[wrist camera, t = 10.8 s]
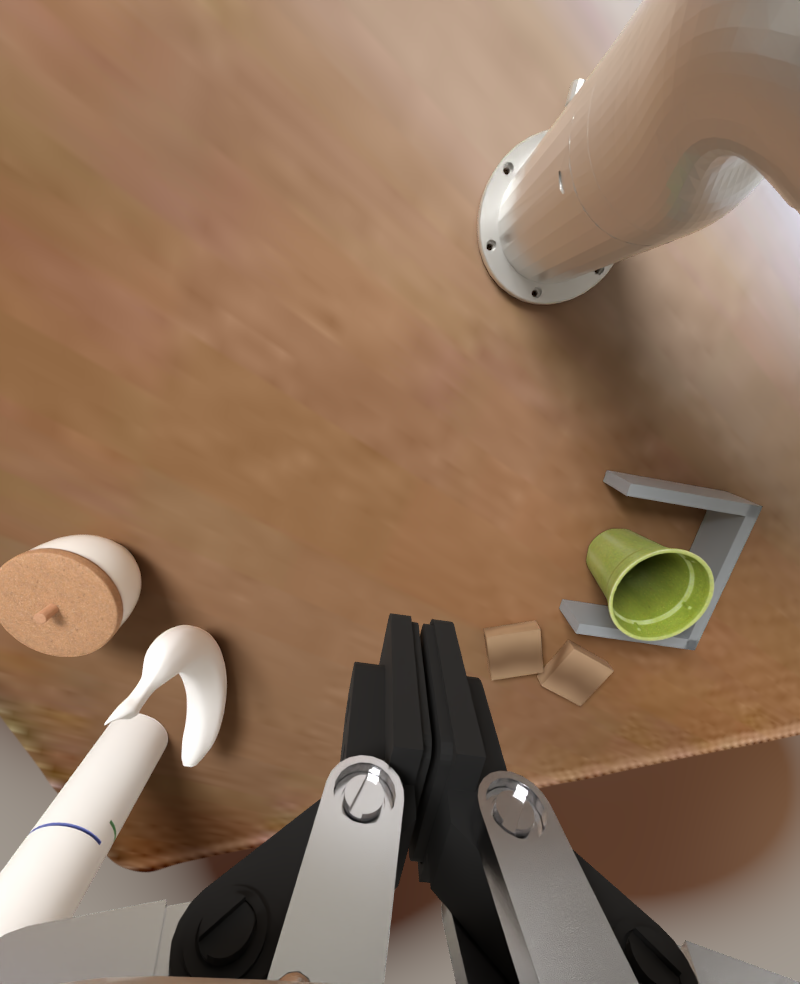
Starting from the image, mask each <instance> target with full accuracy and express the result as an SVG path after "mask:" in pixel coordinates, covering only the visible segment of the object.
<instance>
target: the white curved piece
mask: <svg viewBox="0 0 800 984" xmlns="http://www.w3.org/2000/svg"><path fill="white" fill-rule="evenodd" d="M178 673H179V674H180V676H181V678H182V680H183V683H184V686H185V690H186V695H187V716H186V724H185V729H184V734H183V741H182V762H183V766H188V767H193V766H195V765H197V764H198V763H199V762H200V761H201V759H202V758H203V757H204V756H205V755H206V754H207V752H208V751H209V750H210V748H211V747H212V745H213V744H214V742H215V740H216V738H217V735H218V733H219V730H220V727H221V723H222V719H223V715H224V709H225V703H226V693H227V676H226V668H225V663H224V659H223V656H222V653H221V650H220V648H219V646H218V644H217V642H216V641H215V640H214V638H213V637H212V636H211V635H210V633H208V632H206V631H205V630H203V629H201V628H199V627H195V626H191V625H180V626H176V627H173V628H170V629H168V630H166V631H165V632H163V633H162V634H161V635H159V636H158V637H157V638H156V639H155V640H154V641H153V643H152V644H151V645H150V647H149V648H148V650H147V652H146V655H145V658H144V664H143V672H142V678H141V680H140V682H139V683H138V685H137V686H136V688H135V689H134V690H133V692H132V693H131V694H130V695H129V697H128V698H126V699H125V700H124V701H123V702H122V703H121V704H120V705H119V706H118V707H117V708H116V710H115V711H114V712H113V713H112V714H111V716H110V717H109V718H108V720H107V721H106V722H105V725H106V724H108V723H110V722H113V721H116V720H119V719H122V720H123V719H132V718H133V717H135V716H137V715H138V713H139V711H140V710H141V708H142V706H143V705H144V703H145V702H146V701H147V699H148V698H149V697H150V695H151V694H152V693H153V692H154V691H155V690H156V689H157V688H158V687H160V686H161V685H163V684H164V683H166V682H167V681H168V680H170V679H171V678H173V677H174V676H175V675H177V674H178ZM105 725H104V726H105Z"/></svg>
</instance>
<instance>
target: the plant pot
mask: <svg viewBox="0 0 800 984" xmlns="http://www.w3.org/2000/svg"><path fill="white" fill-rule="evenodd" d="M586 563H587V566H588V568H589V570H590V571H591V573H592V575H593V576H594V578H595V580H596V581H597V583H598V585H599V586H600V588H601V590H602V592H603V593H604V595H605V597H606V598H607V602H608V609H609V614H610V617H611V619H612V621H613V622H614V624H615V625H616V627H617V628H618V629H619V630H620V631H621V632H623V633H624V634H626V635H628V636H629V637H632V638H634V639H638V640H644V641H656V640H663V639H667V638H670V637H673V636H675V635H677V634H680V633H681V632H683V631H684V630H686V629H688V628H689V627H690V626H692V625H693V624H694V623H695V622H697V621H698V619H700V617H701V616H702V615H703V613H704V612H705V611H706V609H707V608H708V606H709V604H710V601H711V599H712V596H713V592H714V578H713V574H712V571H711V569H710V567H709V566H708V565H707V563H706V562H705V561H704V560H703V559H702V558H700V557H699V556H697V555H696V554H694V553H692V552H689V551H687V550H682V549H676V548H667V547H664V546H662V545H660V544H658V543H656V542H654V541H651V540H649V539H647V538H645V537H643V536H641V535H639V534H637V533H635V532H633V531H631V530H628V529H610V530H607V531H605V532H603V533H601V534H599V535H598V536H597V537H596V538H595V539H594V540H593V541H592V542H591V544H590V545H589V547H588V553H587V558H586Z"/></svg>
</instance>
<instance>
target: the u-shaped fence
mask: <svg viewBox="0 0 800 984" xmlns="http://www.w3.org/2000/svg"><path fill="white" fill-rule="evenodd" d="M603 482H605V483H607V484H608V485H610V486H611V487H613V488H615V489H616V490H618V491H620V492H621V493H623V494H625V495H626V496H631V497H637V498H643V499H649V500H655V501H660V502H666V503H672V504H678V505H684V506H689V507H695V508H701V509H707V512H706V514H705V516H704V519H703V521H702V523H701V526H700V528H699V530H698V533H697V535H696V537H695V540H694V542H693V544H692V546H691V549H690V551H689V552H692V553H694V554H696V555H697V556H699V557H700V558H702V559H703V560H704V561H705V562H706V563H707V565H708V566H709V567H710V569H711V571H712V574H713V578H714V592H713V596H712V599H711V601H710V604H709V606H708V608H707V609H706V611H705V612H704V613H703V615H702V616H701V617H700V619H698V621H697V622H695V623H694V624H693V625H692V626H690V627H689V628H688V629H686V630H684V631H683V632H681V633H680V634H677V635H675V636H673V637H670V638H667V639H663V640H656V641H644V640H638V639H634V638H632V637H629V636H628V635H626V634H624V633H623V632H621V631H620V630H619V629H618V628H617V627H616V625H615V624H614V622H613V621H612V619H611V617H610V614H609V609H608V606H604V605H597V604H591V603H584V602H577V601H571V600H564V599H562V602H561V605H560V608H559V609H560V610H561V612H562V613H563V615H564V616H565V618H566V619H567V621H568V622H569V624H570V625H571V627H572V628H573V630H574V631H575V633H576V634H583V635H590V636H598V637H605V638H612V639H619V640H626V641H633V642H640V643H647V644H654V645H661V646H668V647H675V648H682V649H689V650H695V648H696V646H697V644H698V642H699V640H700V638H701V636H702V634H703V631H704V629H705V627H706V625H707V623H708V621H709V619H710V617H711V615H712V612H713V610H714V608H715V606H716V604H717V602H718V600H719V598H720V596H721V593H722V591H723V589H724V587H725V585H726V583H727V581H728V579H729V577H730V574H731V572H732V570H733V568H734V566H735V564H736V562H737V560H738V558H739V555H740V553H741V551H742V549H743V547H744V545H745V543H746V541H747V539H748V536H749V534H750V532H751V530H752V528H753V526H754V524H755V522H756V520H757V517H758V515H759V513H760V511H761V509H762V507H763V506H760V505H758V504H756V503H753V502H751V501H748V500H746V499H744V498H741V497H739V496H736V495H734V494H732V493H729V492H727V491H721V490H716V489H710V488H705V487H699V486H693V485H688V484H682V483H676V482H671V481H665V480H659V479H654V478H648V477H642V476H637V475H631V474H626V473H620V472H614V471H609V470H607V471H606V474H605V477H604V480H603Z"/></svg>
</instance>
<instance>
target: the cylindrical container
mask: <svg viewBox="0 0 800 984" xmlns="http://www.w3.org/2000/svg"><path fill="white" fill-rule="evenodd" d="M167 743H168V735H167V732H166V730H165V728H164V727H163V726H162V724H160V723H159V722H158V721H157V720H155V719H154V718H152V717H149V716H147V715H143V714H138V715H137V716H135V717H133V718H132V719H123V720H122V719H119V720H116V721H113V722H111V723H110V724H109V726H108V727H107V729H106V730H105V731H104V733H103V734H102V735H101V737H100V738H99V739H98V741H97V742H96V743H95V745H94V746H93V748H92V749H91V750H90V752H89V753H88V754H87V756H86V757H85V758H84V760H83V761H82V762H81V764H80V765H79V767H78V768H77V769H76V771H75V772H74V773H73V775H72V776H71V777H70V779H69V780H68V781H67V783H66V784H65V786H64V787H63V788H62V790H61V791H60V792H59V794H58V795H57V797H56V798H55V799H54V800H53V802H52V803H51V805H50V806H49V808H48V809H47V810H46V811H45V813H44V814H43V815H42V817H41V818H40V820H39V821H38V822H37V824H36V825H35V827H34V828H33V829H32V830H31V832H30V833H29V835H28V836H27V837H26V839H25V840H24V841H23V843H22V844H21V845H20V847H19V848H18V850H17V851H16V852H15V854H14V855H13V856H12V858H11V859H10V860H9V862H8V863H7V864H6V866H5V867H4V868H3V870H2V871H1V873H0V937H2V936H3V935H5V934H7V933H9V932H12V931H15V930H18V929H20V928H23V927H26V926H30V925H35V924H40V923H45V922H51V921H56V920H61V919H66V918H72V917H73V915H74V913H75V911H76V909H77V908H78V906H79V904H80V902H81V900H82V898H83V897H84V895H85V893H86V891H87V889H88V888H89V886H90V884H91V882H92V880H93V879H94V876H95V875H96V873H97V871H98V870H99V868H100V866H101V864H102V862H103V861H104V859H105V857H106V855H107V853H108V851H109V850H110V848H111V846H112V844H113V842H114V841H115V839H116V837H117V835H118V833H119V832H120V830H121V828H122V826H123V824H124V822H125V821H126V819H127V817H128V815H129V813H130V812H131V810H132V808H133V806H134V804H135V803H136V801H137V799H138V797H139V795H140V793H141V792H142V790H143V788H144V786H145V784H146V783H147V781H148V779H149V777H150V775H151V774H152V772H153V770H154V768H155V766H156V765H157V763H158V761H159V759H160V757H161V755H162V754H163V752H164V750H165V748H166V746H167Z"/></svg>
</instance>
